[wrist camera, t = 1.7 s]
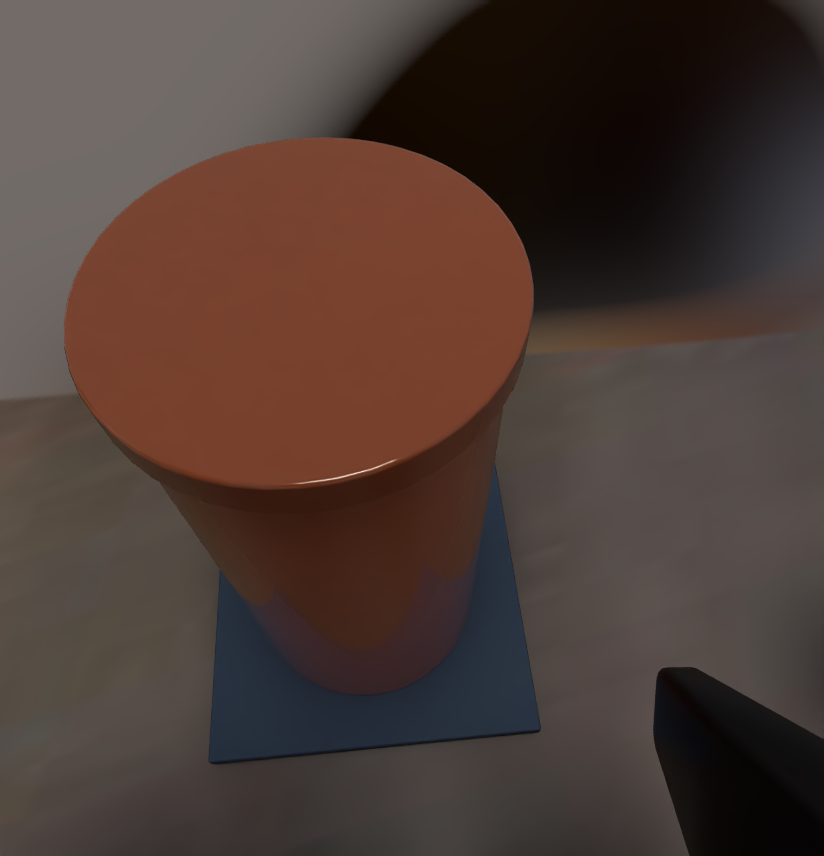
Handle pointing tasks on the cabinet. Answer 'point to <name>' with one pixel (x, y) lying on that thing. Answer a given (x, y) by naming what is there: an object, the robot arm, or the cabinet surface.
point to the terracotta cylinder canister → (315, 386)
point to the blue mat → (387, 712)
